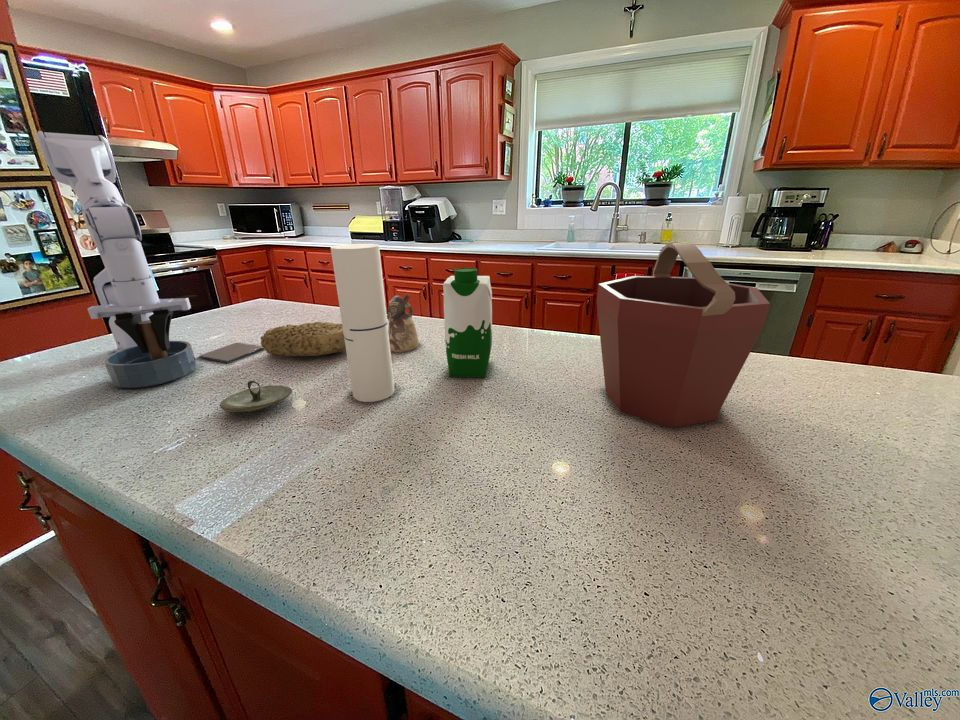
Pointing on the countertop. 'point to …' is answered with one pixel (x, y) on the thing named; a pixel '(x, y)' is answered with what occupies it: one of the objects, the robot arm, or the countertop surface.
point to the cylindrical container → (364, 320)
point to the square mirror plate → (231, 352)
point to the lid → (255, 398)
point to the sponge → (304, 339)
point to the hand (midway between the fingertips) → (156, 350)
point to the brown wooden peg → (151, 340)
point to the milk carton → (468, 323)
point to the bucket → (676, 338)
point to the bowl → (149, 365)
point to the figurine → (401, 325)
